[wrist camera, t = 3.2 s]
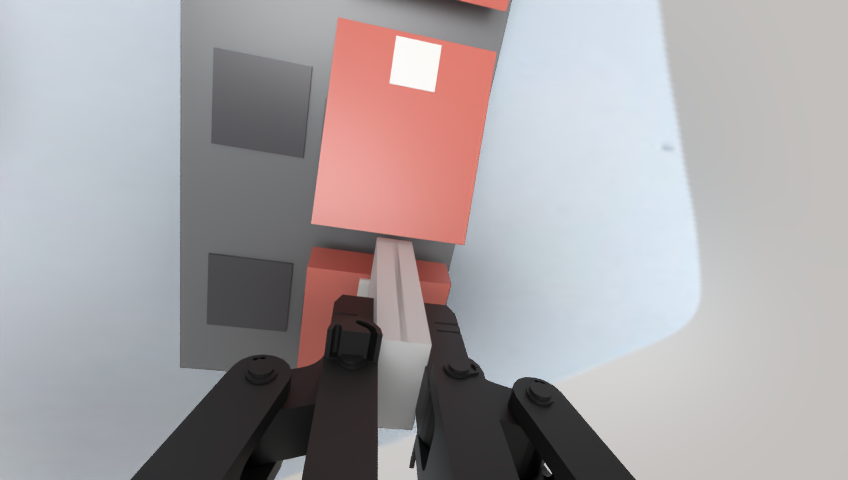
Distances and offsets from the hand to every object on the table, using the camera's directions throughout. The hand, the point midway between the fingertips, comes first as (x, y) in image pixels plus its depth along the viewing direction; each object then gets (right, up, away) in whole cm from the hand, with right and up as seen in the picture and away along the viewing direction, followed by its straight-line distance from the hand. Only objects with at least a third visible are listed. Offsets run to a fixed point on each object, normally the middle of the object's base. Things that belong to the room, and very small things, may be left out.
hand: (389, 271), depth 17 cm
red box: (+1, +5, -1) cm, 5 cm away
